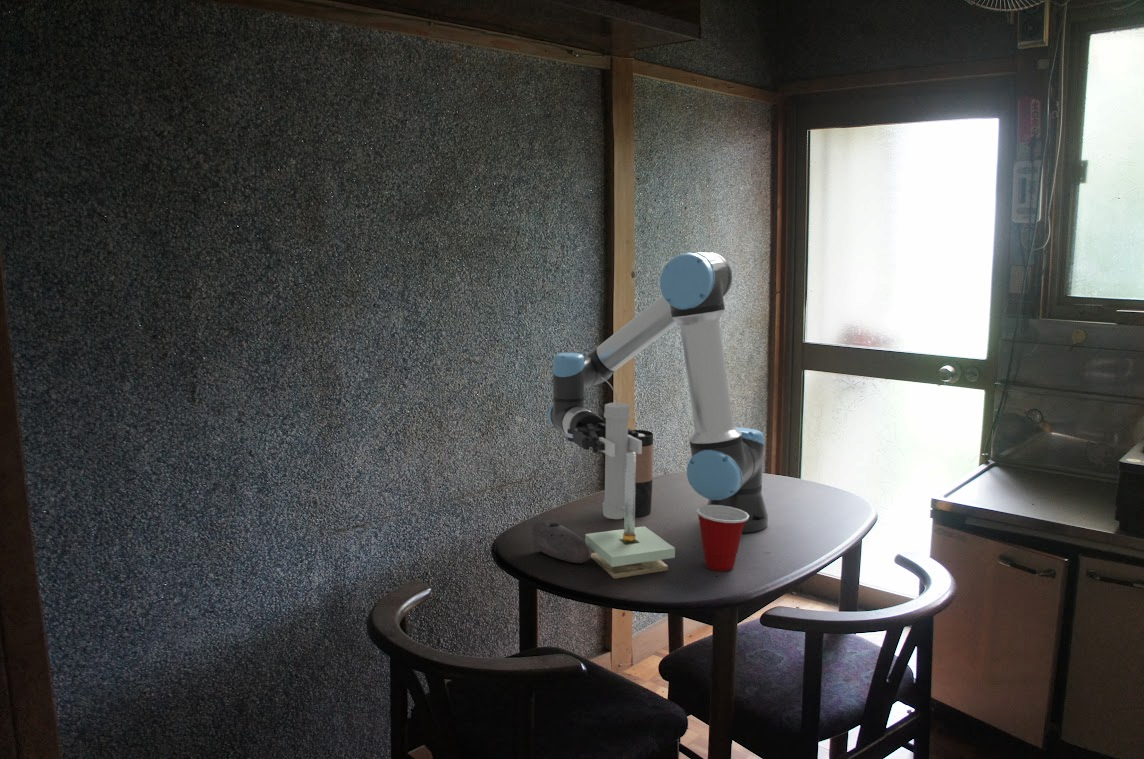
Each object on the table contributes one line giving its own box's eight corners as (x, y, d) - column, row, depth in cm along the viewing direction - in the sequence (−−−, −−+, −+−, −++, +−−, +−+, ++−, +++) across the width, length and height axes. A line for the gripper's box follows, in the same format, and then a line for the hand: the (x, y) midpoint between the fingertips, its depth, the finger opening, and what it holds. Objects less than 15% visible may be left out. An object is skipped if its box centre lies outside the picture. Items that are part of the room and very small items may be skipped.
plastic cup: (756, 573, 174) (759, 516, 172) (708, 578, 171) (710, 521, 169) (732, 554, 184) (734, 500, 182) (686, 559, 181) (687, 504, 179)
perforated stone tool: (596, 564, 178) (596, 533, 177) (578, 571, 175) (578, 539, 173) (547, 546, 189) (547, 515, 188) (529, 552, 185) (529, 521, 184)
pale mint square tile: (585, 543, 182) (585, 534, 182) (644, 535, 187) (644, 526, 187) (612, 566, 169) (612, 557, 169) (674, 557, 174) (675, 548, 174)
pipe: (626, 520, 180) (628, 380, 175) (596, 518, 181) (598, 379, 176) (629, 512, 185) (632, 376, 180) (601, 510, 187) (603, 374, 181)
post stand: (591, 557, 182) (592, 448, 178) (642, 550, 186) (644, 443, 182) (614, 578, 171) (616, 462, 167) (667, 570, 175) (670, 456, 171)
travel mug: (658, 513, 211) (660, 434, 207) (633, 518, 207) (635, 438, 203) (638, 505, 217) (640, 428, 214) (614, 510, 213) (615, 432, 209)
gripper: (620, 438, 201) (666, 462, 180) (546, 446, 194) (585, 471, 173) (620, 407, 200) (666, 427, 178) (546, 413, 193) (585, 435, 172)
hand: (626, 448), depth 176 cm, fingers closed on pipe, 5 cm apart
